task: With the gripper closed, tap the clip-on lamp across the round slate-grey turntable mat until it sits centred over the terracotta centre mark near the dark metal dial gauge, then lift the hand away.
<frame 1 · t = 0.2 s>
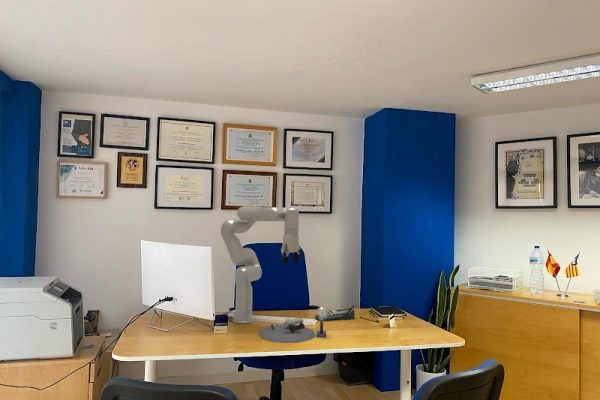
hand: (290, 263, 216), 36 cm above the table, tool pointing down, fingers open, 9 cm apart
turntable mat: (286, 333, 212), on the table
communication device: (333, 319, 244), on the table
clip-on lamp: (287, 330, 217), on the table, touching turntable mat
dial gauge: (321, 336, 209), on the table
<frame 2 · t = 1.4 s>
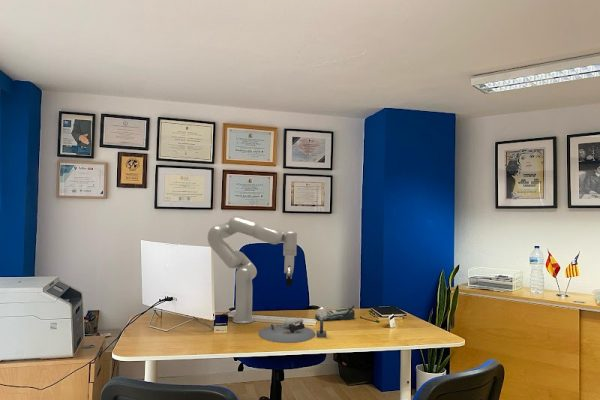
hand: (289, 284, 230), 22 cm above the table, tool pointing down, fingers open, 4 cm apart
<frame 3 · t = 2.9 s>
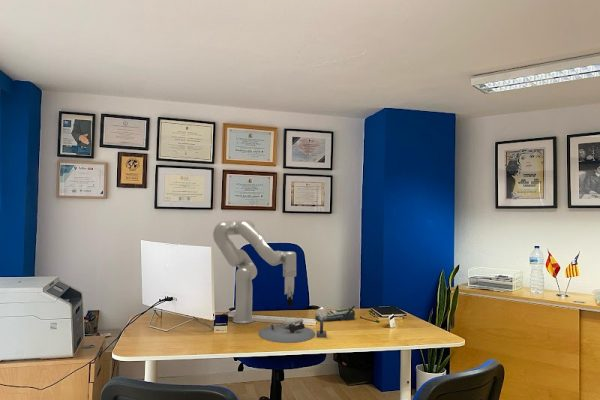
hand: (289, 305, 229), 10 cm above the table, tool pointing down, fingers closed
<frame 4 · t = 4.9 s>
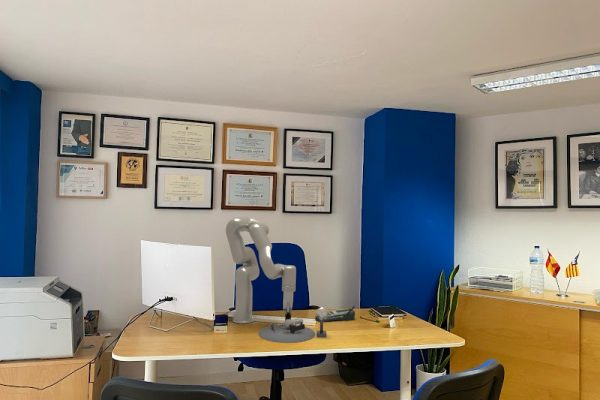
hand: (288, 321, 224), 3 cm above the table, tool pointing down, fingers closed
clip-on lamp: (287, 330, 217), on the table, touching gripper, turntable mat
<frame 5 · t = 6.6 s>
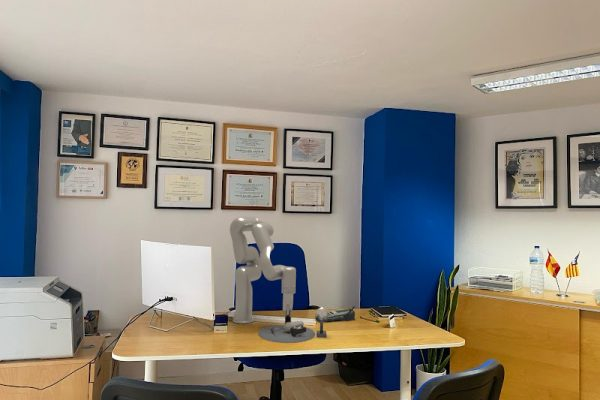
hand: (287, 324, 218), 3 cm above the table, tool pointing down, fingers closed
clip-on lamp: (287, 334, 211), on the table, touching gripper, turntable mat
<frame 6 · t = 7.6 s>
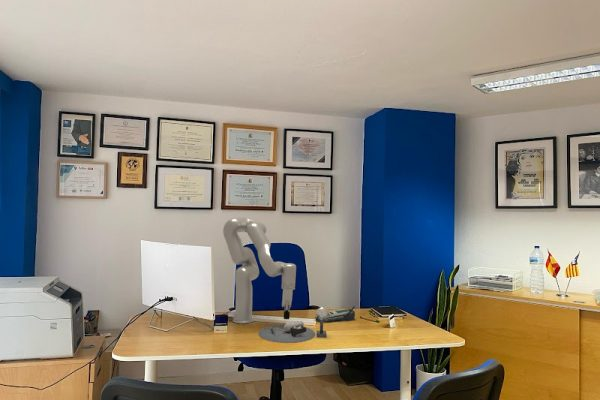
hand: (286, 318, 225), 4 cm above the table, tool pointing down, fingers closed
clip-on lamp: (287, 334, 211), on the table, touching turntable mat
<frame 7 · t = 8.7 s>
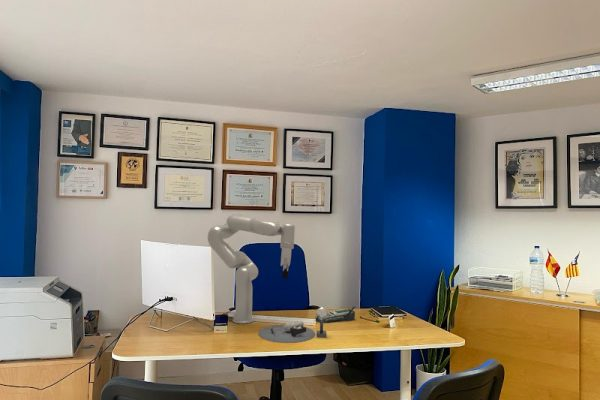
hand: (285, 278, 227), 26 cm above the table, tool pointing down, fingers closed
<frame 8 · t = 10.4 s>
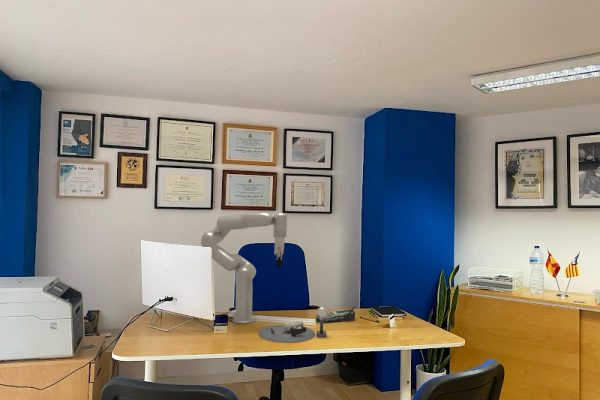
hand: (279, 266, 232), 32 cm above the table, tool pointing down, fingers closed
at the end: clip-on lamp 1.7 cm from the turntable mat (horizontally); clip-on lamp tilted 0°; clip-on lamp moved 6.7 cm from its start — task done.
